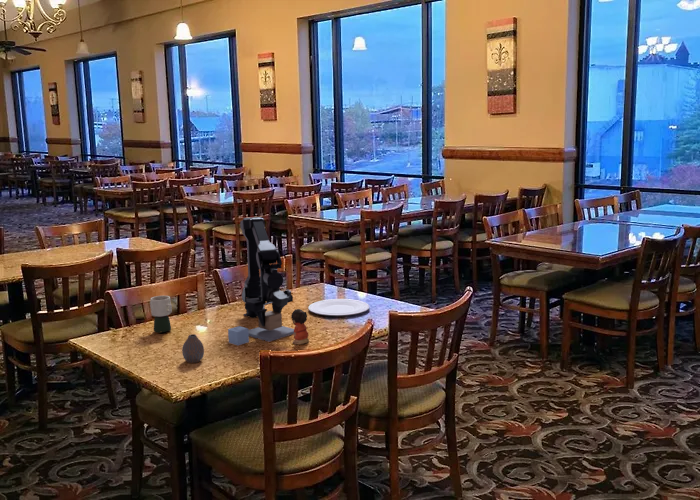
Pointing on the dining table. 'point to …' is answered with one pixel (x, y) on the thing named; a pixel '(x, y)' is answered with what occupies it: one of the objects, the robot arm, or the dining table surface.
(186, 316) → the dining table surface
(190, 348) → the vase
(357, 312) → the plate
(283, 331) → the build plate
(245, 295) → the robot arm
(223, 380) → the dining table surface
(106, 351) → the dining table surface
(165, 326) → the character mug
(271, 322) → the walnut brick
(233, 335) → the blue brick
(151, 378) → the dining table surface
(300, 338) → the figurine
